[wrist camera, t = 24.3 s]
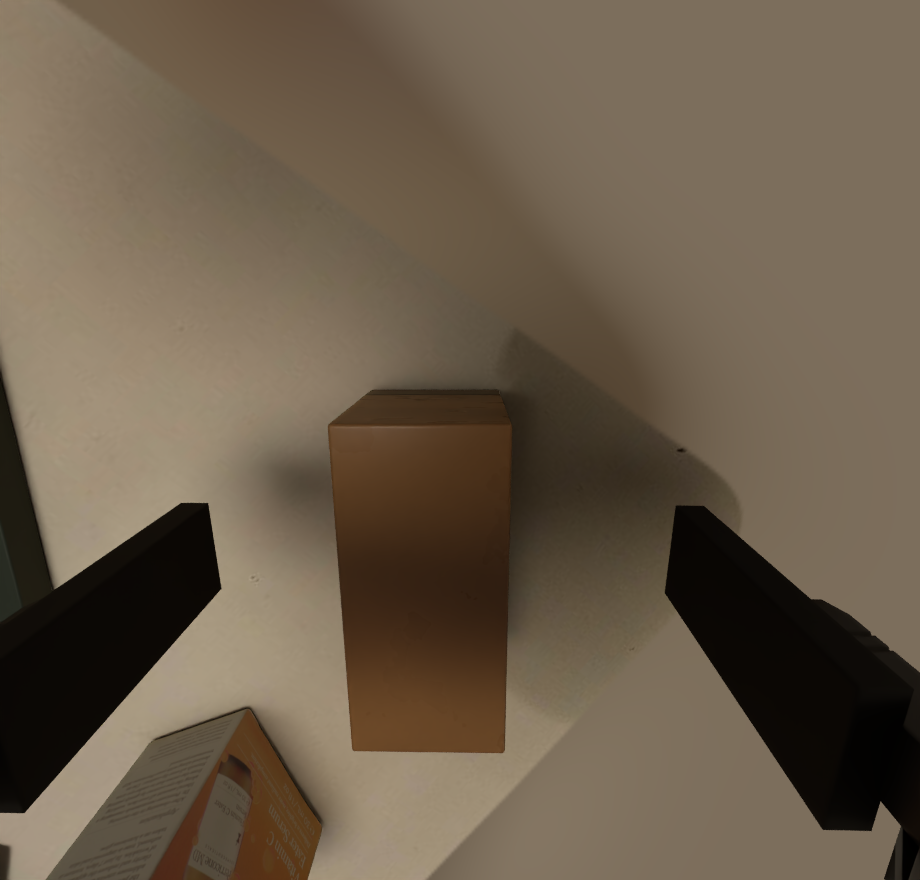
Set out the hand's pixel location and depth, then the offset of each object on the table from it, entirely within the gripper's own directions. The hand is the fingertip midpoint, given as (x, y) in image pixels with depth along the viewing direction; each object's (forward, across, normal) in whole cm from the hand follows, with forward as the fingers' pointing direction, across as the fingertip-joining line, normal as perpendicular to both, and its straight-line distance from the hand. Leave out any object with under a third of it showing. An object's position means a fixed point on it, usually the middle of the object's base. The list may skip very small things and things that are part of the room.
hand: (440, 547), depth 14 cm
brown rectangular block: (+6, 0, -2) cm, 6 cm away
